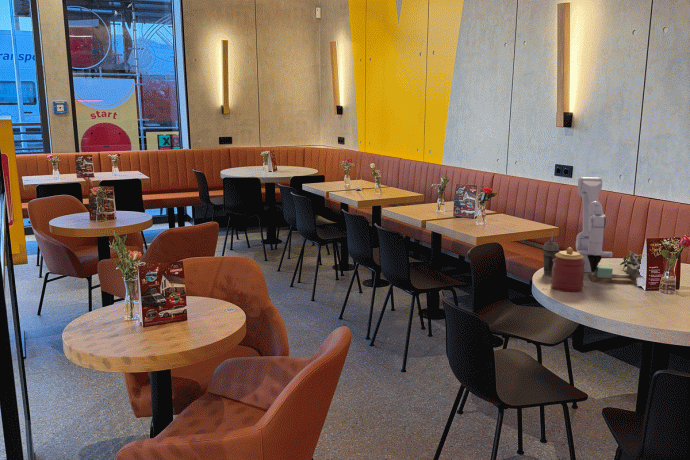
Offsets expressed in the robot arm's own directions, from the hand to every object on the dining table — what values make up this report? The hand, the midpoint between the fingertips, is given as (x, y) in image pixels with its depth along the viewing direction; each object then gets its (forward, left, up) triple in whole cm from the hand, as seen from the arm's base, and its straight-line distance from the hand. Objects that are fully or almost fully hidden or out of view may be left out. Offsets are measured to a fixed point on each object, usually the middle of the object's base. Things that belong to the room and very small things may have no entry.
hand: (592, 271), depth 267 cm
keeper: (+4, 0, -2) cm, 5 cm away
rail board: (+8, 0, -3) cm, 9 cm away
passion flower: (+21, +17, -4) cm, 27 cm away
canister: (-14, -16, -4) cm, 21 cm away
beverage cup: (-18, +5, -4) cm, 19 cm away
